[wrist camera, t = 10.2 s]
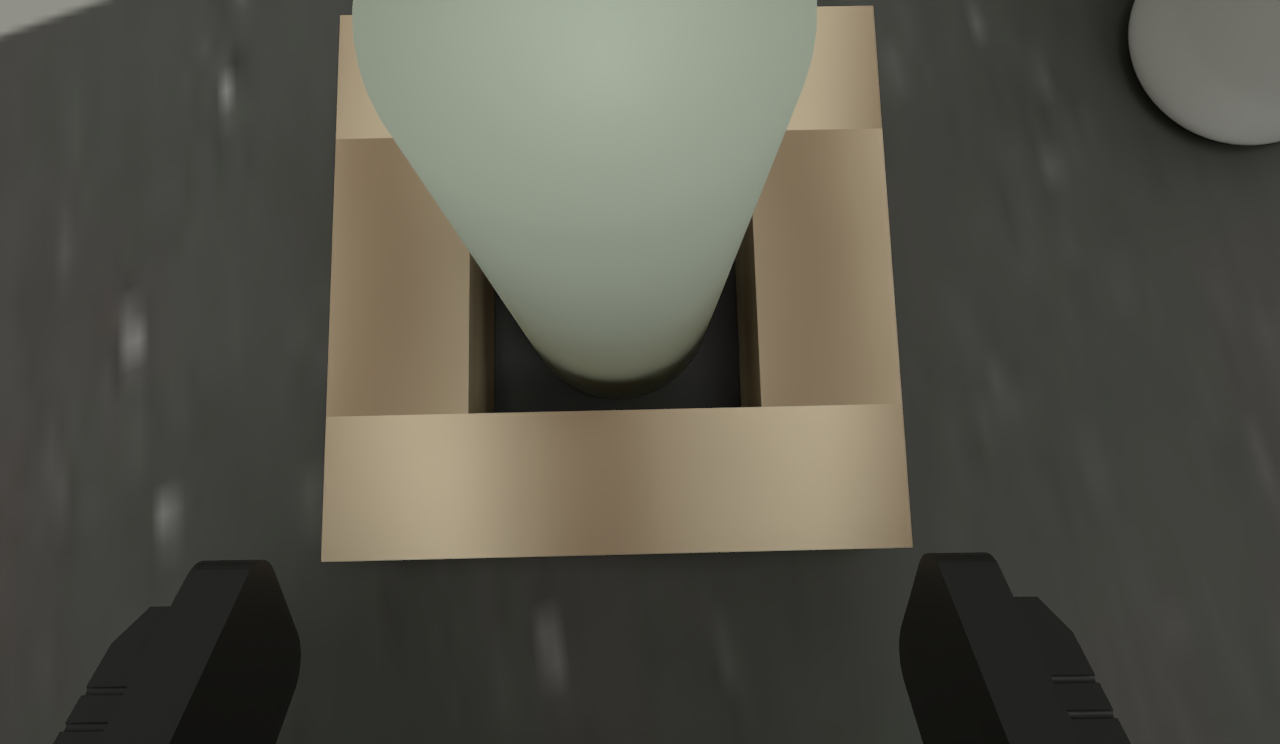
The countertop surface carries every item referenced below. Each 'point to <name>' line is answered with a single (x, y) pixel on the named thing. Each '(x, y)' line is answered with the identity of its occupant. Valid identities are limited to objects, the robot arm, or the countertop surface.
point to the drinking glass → (1211, 65)
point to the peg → (593, 156)
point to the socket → (622, 439)
